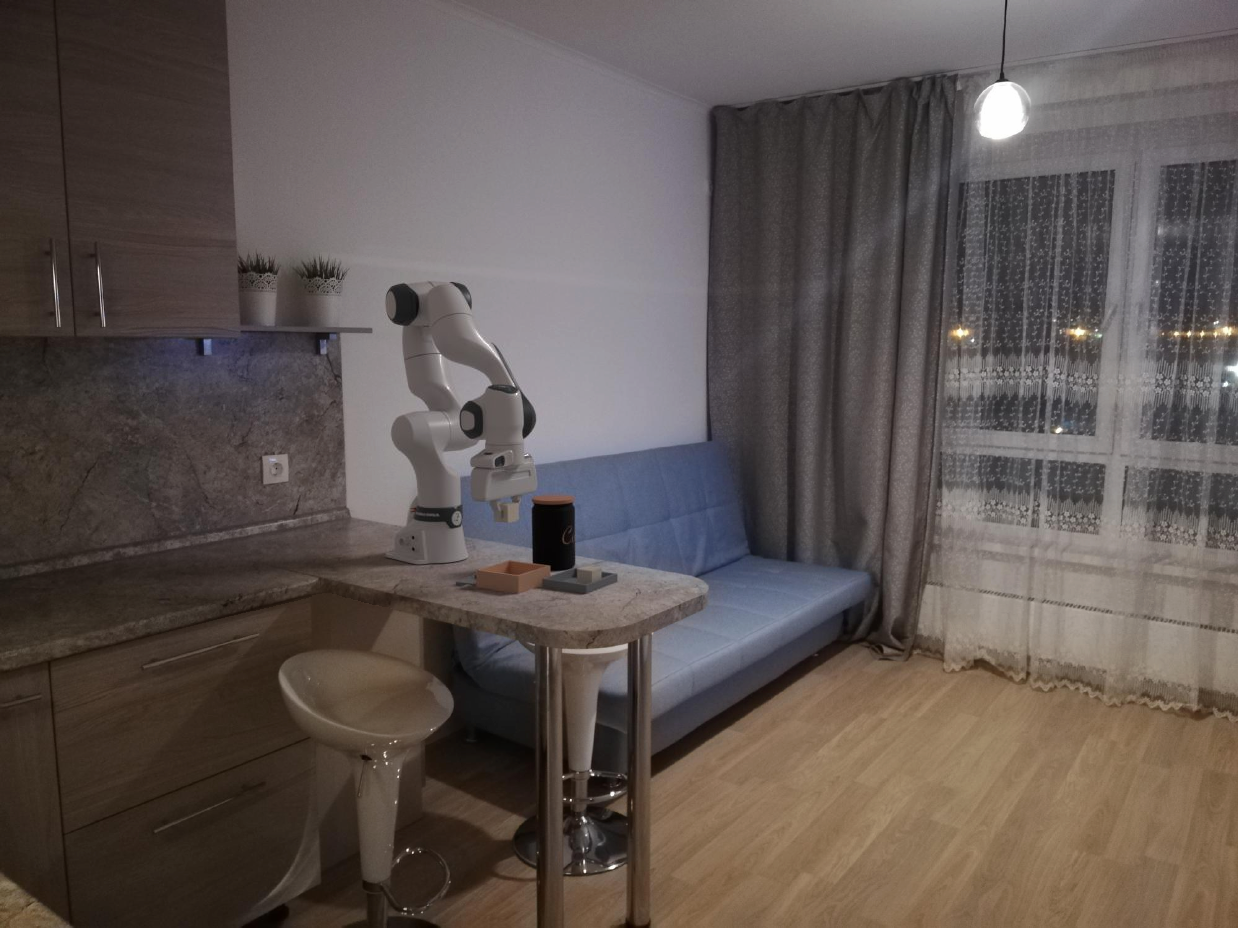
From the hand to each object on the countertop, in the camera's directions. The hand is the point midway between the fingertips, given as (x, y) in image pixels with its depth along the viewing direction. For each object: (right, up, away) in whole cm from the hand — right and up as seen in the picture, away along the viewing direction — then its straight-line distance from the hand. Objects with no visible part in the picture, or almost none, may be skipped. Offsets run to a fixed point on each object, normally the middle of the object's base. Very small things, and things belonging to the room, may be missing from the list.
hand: (506, 516), depth 210 cm
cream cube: (0, -1, 0) cm, 1 cm away
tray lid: (-7, -16, +6) cm, 18 cm away
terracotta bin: (+2, -16, +1) cm, 16 cm away
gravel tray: (+17, -16, +1) cm, 23 cm away
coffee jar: (+10, -14, +19) cm, 26 cm away
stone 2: (+19, -16, 0) cm, 25 cm away
